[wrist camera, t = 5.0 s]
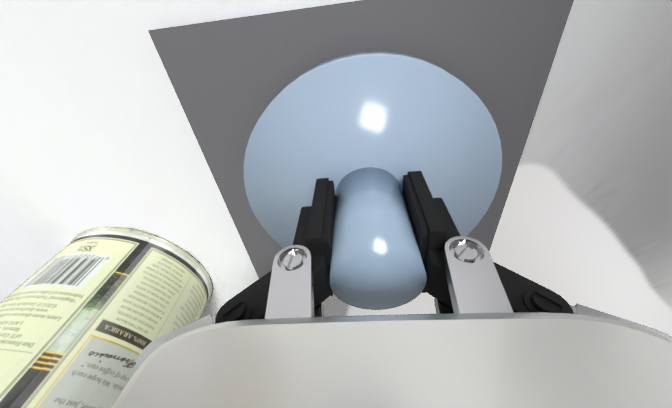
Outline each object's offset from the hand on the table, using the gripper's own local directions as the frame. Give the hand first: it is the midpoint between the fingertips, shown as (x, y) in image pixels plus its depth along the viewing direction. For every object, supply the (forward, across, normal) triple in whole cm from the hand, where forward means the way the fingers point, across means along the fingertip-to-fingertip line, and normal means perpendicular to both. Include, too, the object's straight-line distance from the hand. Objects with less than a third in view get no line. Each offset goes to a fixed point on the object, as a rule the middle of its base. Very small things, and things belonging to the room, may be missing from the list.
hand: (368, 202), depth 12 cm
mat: (+3, 0, 0) cm, 3 cm away
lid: (+2, 0, 0) cm, 2 cm away
